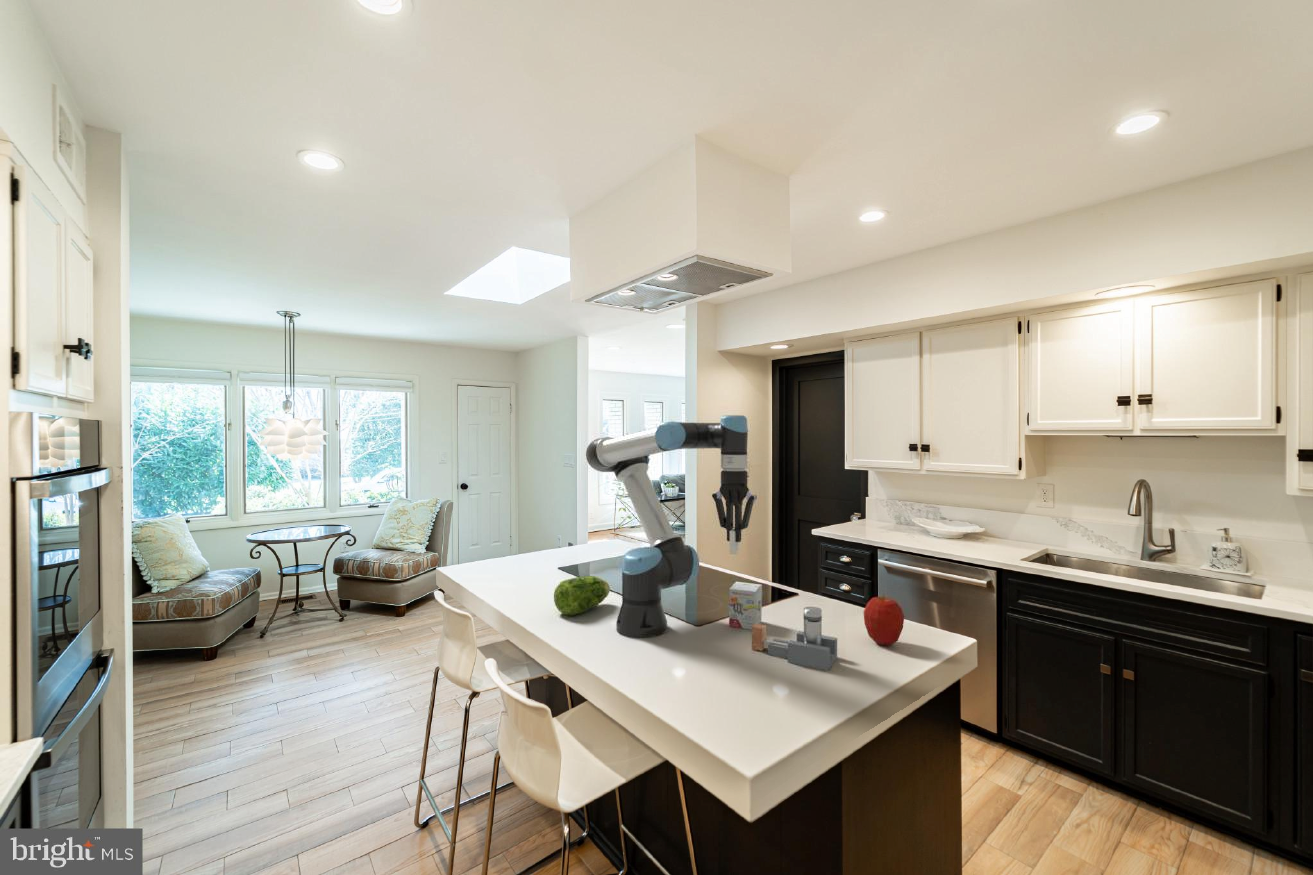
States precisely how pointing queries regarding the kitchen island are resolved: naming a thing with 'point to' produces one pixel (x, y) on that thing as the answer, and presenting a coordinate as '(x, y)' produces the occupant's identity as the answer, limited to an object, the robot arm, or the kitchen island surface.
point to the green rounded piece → (580, 594)
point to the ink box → (745, 605)
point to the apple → (883, 620)
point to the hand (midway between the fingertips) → (734, 553)
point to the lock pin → (762, 638)
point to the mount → (807, 652)
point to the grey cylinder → (812, 625)
